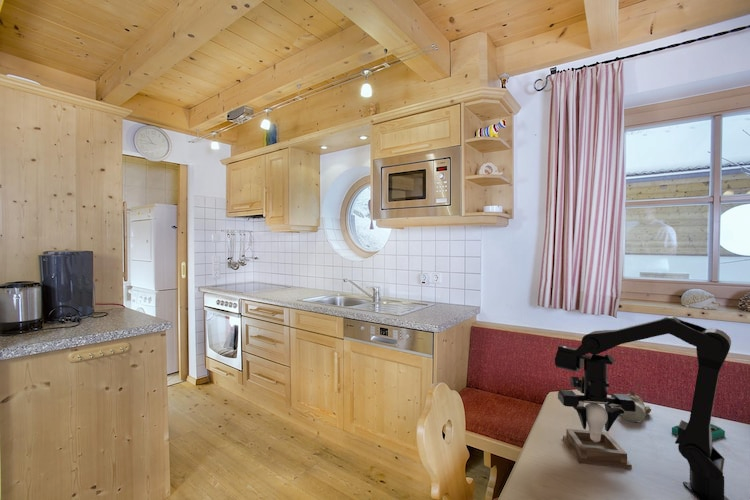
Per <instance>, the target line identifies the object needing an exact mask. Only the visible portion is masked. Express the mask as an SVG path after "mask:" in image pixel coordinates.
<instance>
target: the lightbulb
mask: <svg viewBox="0 0 750 500" xmlns="http://www.w3.org/2000/svg"><path fill="white" fill-rule="evenodd" d="M584 407H585V408H586V424H587V425H588V431H589V432H590V438H591V440H593V441H594V442H599V441H600V439H601V434H602V432H603V428H604V427H605V424H606V422H607V420H608V414H607V412H606V410H605V407H604V406H602V404H597V403H586V405H584Z"/></svg>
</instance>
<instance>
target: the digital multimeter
mask: <svg viewBox="0 0 750 500" xmlns="http://www.w3.org/2000/svg"><path fill="white" fill-rule="evenodd" d="M678 426H679V425H676V426H672V427H671V434H672V435H674V436H676V437H678ZM710 426H711V433H712V441H713V440H716V439H720V438H725V437H726V431H725V430H724V429H723V428H722V427H720V426H717V425H714V424H712V423H710Z"/></svg>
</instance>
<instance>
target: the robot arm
mask: <svg viewBox="0 0 750 500" xmlns="http://www.w3.org/2000/svg"><path fill="white" fill-rule="evenodd" d="M664 335H671V336H674V337H675V338H677V339H679V340H681V341H683V342H684V343H687V344H689V345H691V346H693V347H696V357H697V365H698V367H697V375H696V381H695V385H694V392H693V398H692V404H691V409H690V415H689V419H688V422H686V421H684V420H682V419H681V420H680V422H679V424H678V425H677V426H678V436H676V439H675V442H674V444H676V445H677V446H678V449H677V450H678V452H679V454H681V456H682V457H683V458H684V459H685V460H686V461H687V463H688V465H689V481H682V485H684V487H686V488H687V490H689V491H690V493H692V494H693V495H694V496H695V497H696V498H697V499H698V500H730V499H729V498H728V497H727V496H726V495H725V476H724V472H723V471H724V465H725V458H724V457H723V455H721V454H720V452H719V451H717V449H716V448H715V447H714V445H713V440H712V433H711V426H710V424H711V421H712V415H713V410H714V405H715V398H716V393H717V387H718V382H719V377H720V371H721V370H722V369H721V368H722V367H723V365H724V363H725V361H726V358H727V357H728V354H729V352H730V350H731V347H732V340H731V338H730V335H728V334H727V332H725V331H723V330H721V329H718V328H705V327H703V326H701V325H699V324H694V323H691V322H688V321H685V320H682V319H680V318H678V317H675V316H673V315H669V316H665V317H663V318H659V319H656V320H651V321H648V322H644V323H643V322H642V323H639V324H635V325H631V326H627V327H623V328H619V329H603V330H595V331H591V332H589V333H587V334H584V335H583V337H582V338H581V344H580V345H579V346H578V347H576V348H574V347H568V346H565V345H559V346H557V350H556V353H555V357H554V365H555V367H556V368H558V369H563V370H567V371H571V372H574V373H575V372H576V373H577V372H579V370H583V375H582V376H581V379H580V378H579V376H574V375H573V376H570V387H571V388H576V389H577V391H579V392H580V393H581V394H582V395H580V394H576V393H575V391H573V390H569V389H560V390H559V391H558V392H557V400H559V402H560V403H561V404H562V405H563V406H565V407H570V408H571V407H572V408H573V409H574V410H575V411H576V412H577V415H578V419H579V420H580V424H581V426H582V428H583V429H582V430H586V429H587V421H586V408H585V405H584V403H586V404H589V403H597V404H599V405H603V406H604V409H605V410H606V412H607V414H608V420H607V422H606V424H605V425H604V430H605V431H606V432H609V431H610V429H611V428H612V427H613V424H614V423H615V421H616V420H617V419H618V418H619V417H620V416H621V414H624V411H632V412H635V411H636V403H635V402H634V401H633V400H632V399H631V398H629V397H628V396H627V395H626V393H625V394H624V393H612V394H611V395H610V397H609V396H608V388H610V383H609V382H608V365H610V366H611V365H613V364H614V363H616V359H615V358H614V357H612V355H610V353H607V354H605V355H603V354H602V353H604V352H606V351H608V350H610V349H613V348H615V347H618V346H619V345H623V344H627V343H633V342H637V341H640V340H646V339H650V338H655V337H660V336H664ZM588 354H590V355H588ZM622 409H623V410H624V411H623V410H622Z"/></svg>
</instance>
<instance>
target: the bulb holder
mask: <svg viewBox="0 0 750 500" xmlns="http://www.w3.org/2000/svg"><path fill="white" fill-rule="evenodd" d="M565 431H566V432H565V433H566V435H562V439H563V441H564V442H565V444H566V445H567V447H568V448H569V449H568V450H570V452H571V453H572V455H573V456H574V458H575V459H576V461H577V462H578V464H582V465H583V464H584V465H590V466H591V465H593V466H601V467H611V468H619V469H629V470H632V469H633V465H632V464H631V463H630V461H629V460H628V453H627V452H626V451H625V450H624V449H623V447H621V445H620V444H619V443H618V442H617V441H616V440H615V439H614V438H613V436H611V435H610V433H609V432H608V431H606V432H605V431H602V434H601V439H600V441H599V442H594V441H593V440H591V438H590V432H589V430H586V429H574V428H566V430H565Z"/></svg>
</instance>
